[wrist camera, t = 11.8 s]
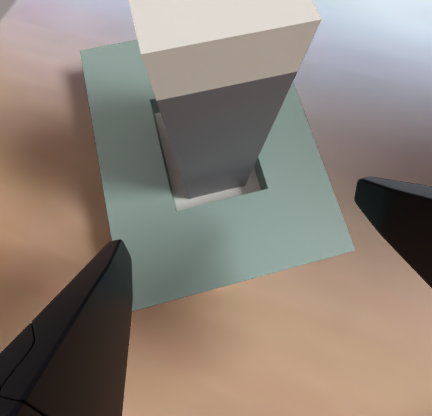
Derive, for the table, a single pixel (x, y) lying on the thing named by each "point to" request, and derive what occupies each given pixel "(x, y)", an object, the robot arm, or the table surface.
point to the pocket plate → (208, 204)
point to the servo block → (221, 78)
